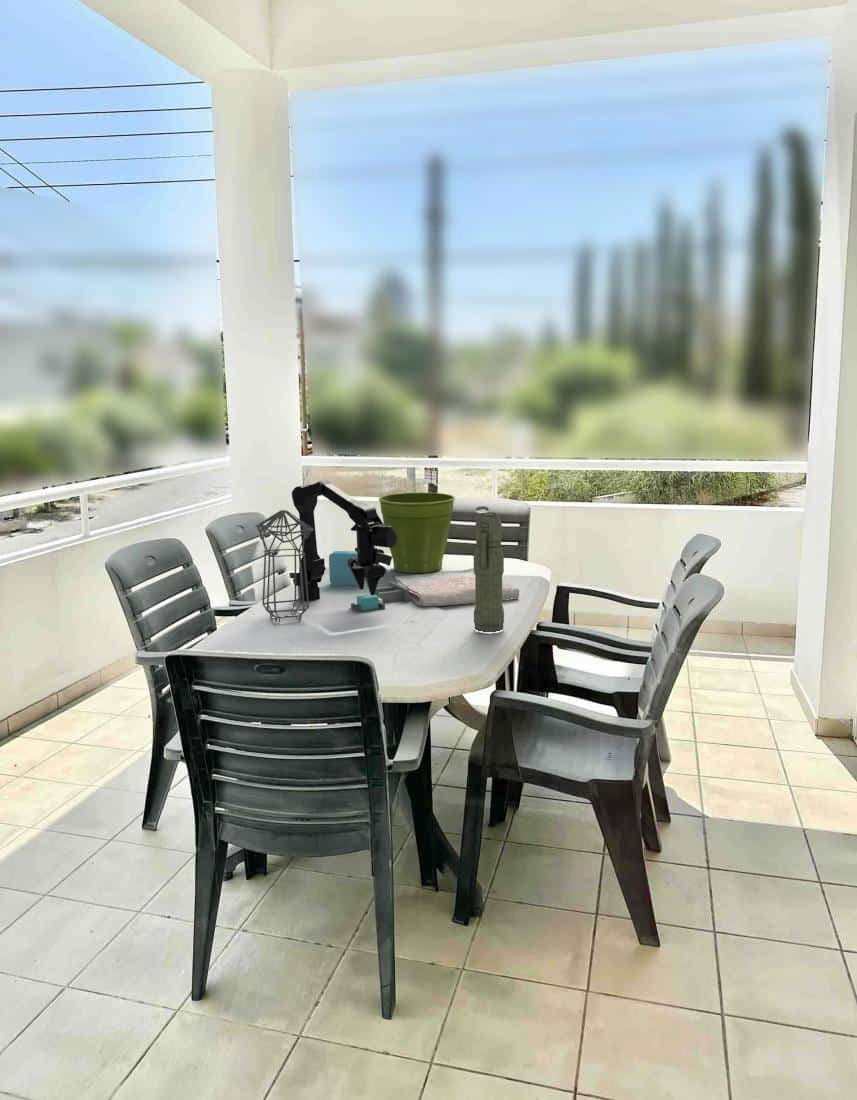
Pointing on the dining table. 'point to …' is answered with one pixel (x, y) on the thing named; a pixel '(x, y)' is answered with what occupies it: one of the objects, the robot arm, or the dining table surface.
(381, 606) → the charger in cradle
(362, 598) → the plug
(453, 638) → the dining table surface
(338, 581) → the data package
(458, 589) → the towel
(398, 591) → the socket
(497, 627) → the flashlight
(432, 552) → the plant pot
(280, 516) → the geometric lantern
